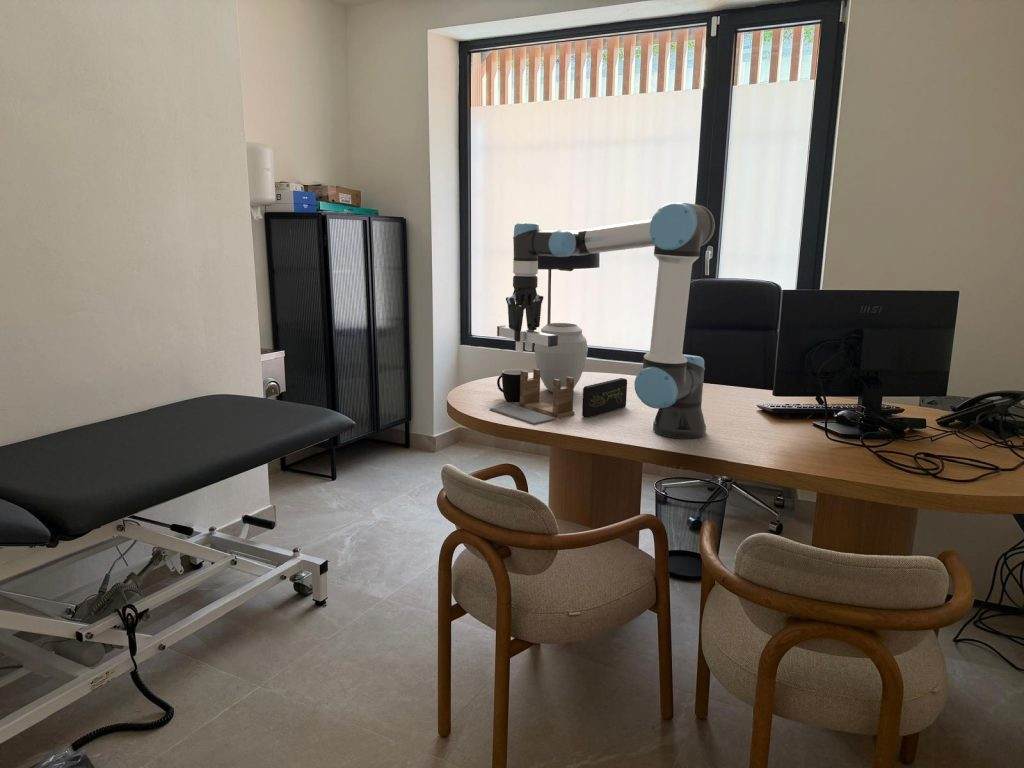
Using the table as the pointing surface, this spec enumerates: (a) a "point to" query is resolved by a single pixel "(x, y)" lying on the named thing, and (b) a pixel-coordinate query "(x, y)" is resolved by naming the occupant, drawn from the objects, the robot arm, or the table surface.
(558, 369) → the vase
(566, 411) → the rack
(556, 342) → the rail
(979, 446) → the table surface
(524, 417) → the mat
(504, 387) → the mug
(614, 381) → the nameplate
